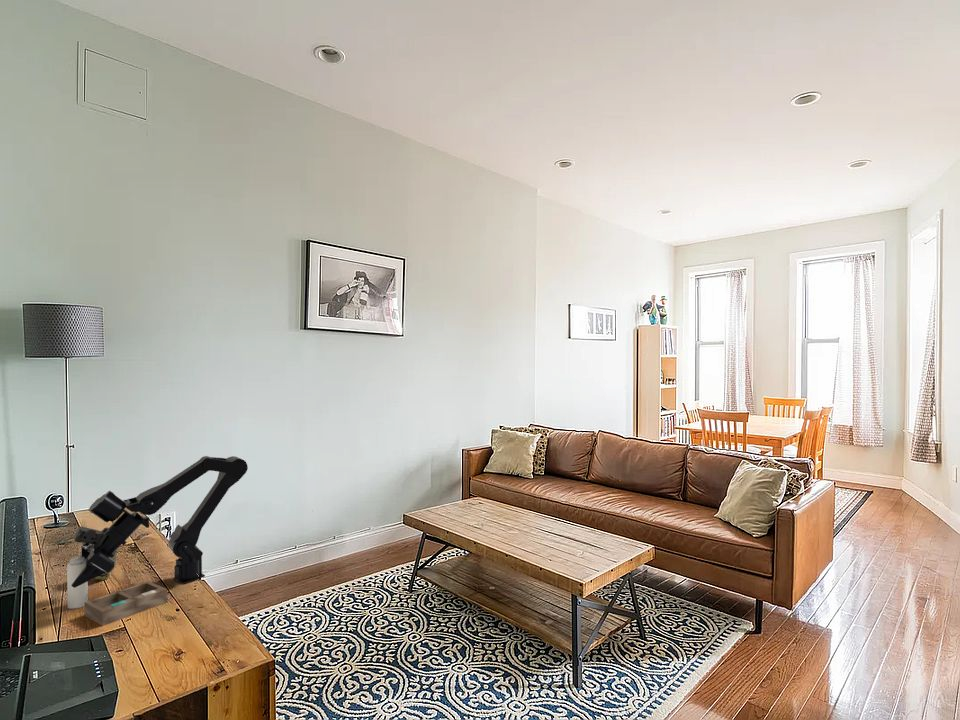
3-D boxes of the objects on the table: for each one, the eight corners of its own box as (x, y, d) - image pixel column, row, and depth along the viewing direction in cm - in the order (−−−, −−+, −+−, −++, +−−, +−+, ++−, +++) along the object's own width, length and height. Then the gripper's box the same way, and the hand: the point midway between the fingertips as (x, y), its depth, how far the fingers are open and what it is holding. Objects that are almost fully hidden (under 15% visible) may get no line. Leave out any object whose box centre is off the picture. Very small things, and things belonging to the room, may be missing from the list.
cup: (83, 585, 162) (83, 557, 162) (93, 575, 169) (93, 549, 169) (112, 582, 164) (112, 555, 164) (121, 572, 171) (121, 547, 171)
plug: (83, 600, 152) (83, 554, 152) (90, 603, 150) (90, 557, 150) (64, 606, 149) (64, 559, 149) (71, 610, 146) (71, 562, 146)
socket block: (148, 593, 156) (148, 580, 156) (167, 601, 151) (167, 588, 151) (84, 615, 143) (84, 601, 143) (102, 625, 138) (102, 611, 137)
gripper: (91, 508, 159) (42, 555, 152) (99, 522, 145) (45, 576, 137) (123, 530, 164) (78, 576, 157) (134, 546, 150) (84, 598, 143)
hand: (71, 581), depth 148 cm, fingers open, 9 cm apart
